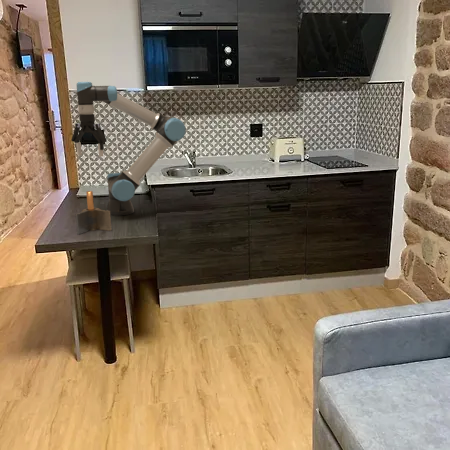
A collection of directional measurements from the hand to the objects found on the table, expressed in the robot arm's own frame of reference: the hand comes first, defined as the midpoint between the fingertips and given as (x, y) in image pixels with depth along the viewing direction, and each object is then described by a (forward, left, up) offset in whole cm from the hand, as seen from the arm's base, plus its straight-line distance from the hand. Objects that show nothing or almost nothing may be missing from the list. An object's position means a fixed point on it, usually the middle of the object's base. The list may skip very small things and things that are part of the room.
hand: (90, 155), depth 243 cm
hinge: (+17, +12, -35) cm, 40 cm away
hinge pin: (+13, +8, -35) cm, 38 cm away
